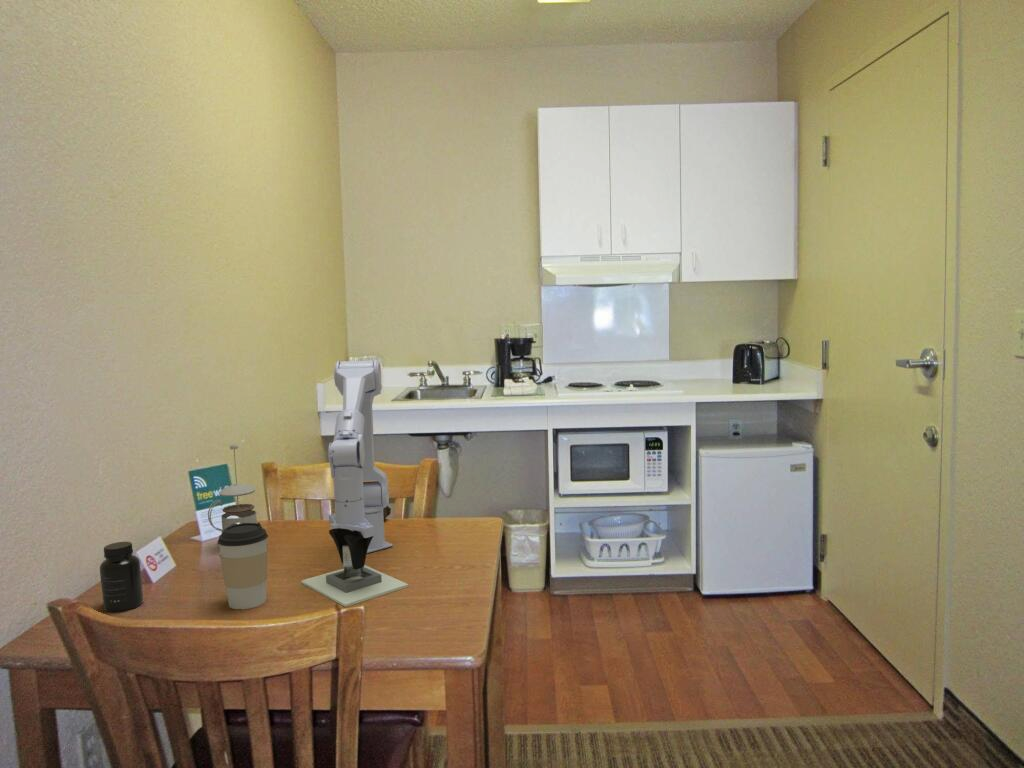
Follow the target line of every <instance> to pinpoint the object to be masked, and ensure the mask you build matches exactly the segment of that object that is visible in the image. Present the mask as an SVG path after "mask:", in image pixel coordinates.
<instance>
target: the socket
mask: <svg viewBox="0 0 1024 768" xmlns="http://www.w3.org/2000/svg"><path fill="white" fill-rule="evenodd" d="M300 581H301V582H300V583H301V584H302V585H304V586H305V587H308V588H310V589H311V590H312V591H313V590H314V591H315V592H317V593H318V594H321V595H323V596H324V597H326V598H328V599H330V600H331V601H333V602H334V603H335V602H336V603H337V604H339V605H340V606H343V607H345V608H347V607H350V606H353V605H357V604H358V603H362V602H365V601H369V600H371V599H372V600H373V599H375V598H379V597H380V596H384V595H388V594H390V593H393V592H396V591H400V590H403V589H406V588H408V587H409V584H408V583H406V582H404V581H402V580H399V579H397V578H394V577H393V576H391V575H388V574H386V573H383V572H381V571H379V570H377V569H375V568H372V567H371V566H368V565H366V564H364V574H363V575H361V576H357V577H346V576H344V569H343V568H342V569H341V568H340V569H337V570H334V571H330V572H325V573H324V574H319V575H316V576H313V577H308V578H305V579H302V580H300Z"/></svg>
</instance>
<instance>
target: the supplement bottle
mask: <svg viewBox="0 0 1024 768" xmlns="http://www.w3.org/2000/svg"><path fill="white" fill-rule="evenodd" d="M133 553H134V549H133V543H132V542H130V541H118V542H113V543H112V542H111V543H109V544H107V545H105V546H104V547H103V557H104V560H103V561H102V562H101V564H100V566H99V576H100V584H101V594H102V595H101V596H102V605H103V608H104V610H105V611H107V612H109V613H119V612H126V611H130V610H133V609H135V608H137V607H139V606H141V604H142V603H143V602H144V590H143V580H142V573H141V571H142V570H141V563H140V558H138V556H136V555H135V554H133Z"/></svg>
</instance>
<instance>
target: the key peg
mask: <svg viewBox="0 0 1024 768" xmlns="http://www.w3.org/2000/svg"><path fill="white" fill-rule="evenodd" d="M342 548H343V564H342V566H343V568H342V569H344V576H346V577H357V576H361V575H363V574H364V567H362V568H359V569H353V566H352V561H351V554H350V550H349V547H348V544H347V543H344V544H343V545H342Z"/></svg>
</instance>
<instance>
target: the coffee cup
mask: <svg viewBox="0 0 1024 768" xmlns="http://www.w3.org/2000/svg"><path fill="white" fill-rule="evenodd" d="M235 524H236V525H232V526H229V527H227V528H225V529H224V531H223V533H222V532H221V533H220V534H219V535H218V536H219V537H218V540H217V544H218V546H219V547H218V548H219V549H220V552H219V557H220V559H219V560H220V563H221V571H222V576H223V583H224V586H225V590H226V596H227V602H228V607H229V608H230V609H233V610H238V609H241V610H248V609H249V610H251V609H254V608H257V607H259V606H262V605H264V604H265V603H266V602H267V580H268V554H269V553H268V551H269V550H268V547H267V544H268V537H269V534H268V533H267V530H266V529H265V528H263V526H262V525H261V523H260V522H257V523H235ZM241 610H240V611H241Z"/></svg>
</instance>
